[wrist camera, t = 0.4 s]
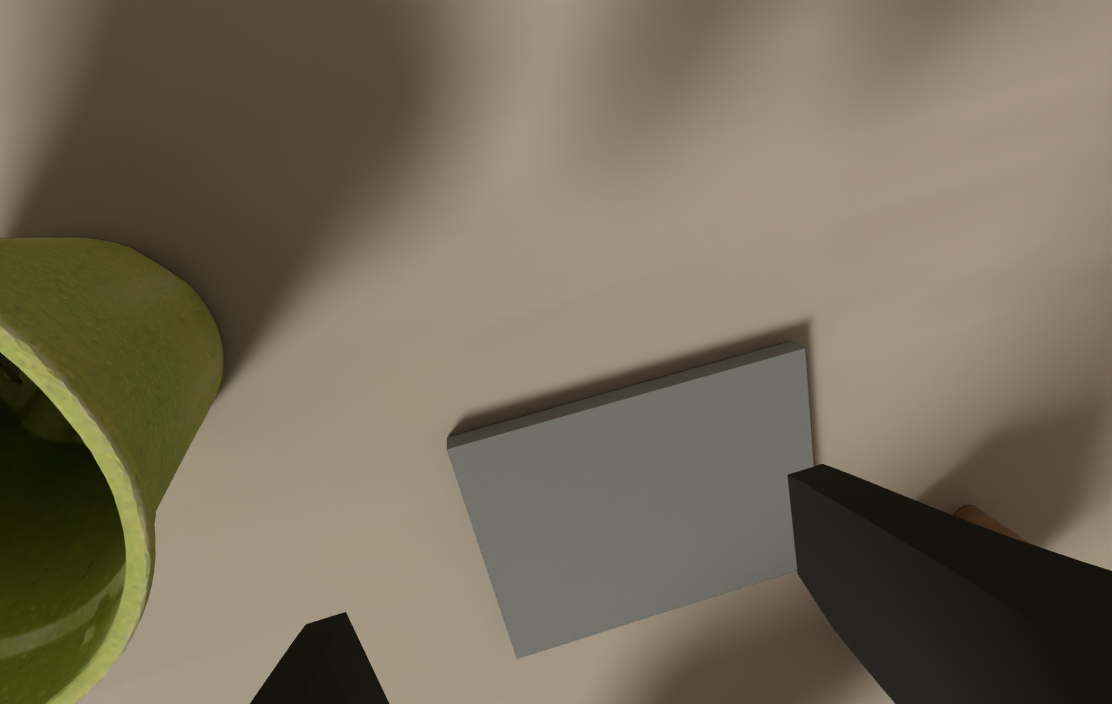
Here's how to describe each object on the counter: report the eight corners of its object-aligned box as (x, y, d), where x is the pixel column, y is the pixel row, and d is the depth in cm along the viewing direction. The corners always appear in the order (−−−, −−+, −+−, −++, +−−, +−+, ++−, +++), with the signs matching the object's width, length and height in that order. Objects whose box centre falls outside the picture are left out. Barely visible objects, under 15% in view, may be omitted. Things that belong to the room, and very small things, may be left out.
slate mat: (808, 549, 23) (820, 563, 22) (514, 641, 22) (516, 658, 21) (791, 340, 20) (805, 348, 19) (446, 437, 19) (446, 449, 18)
